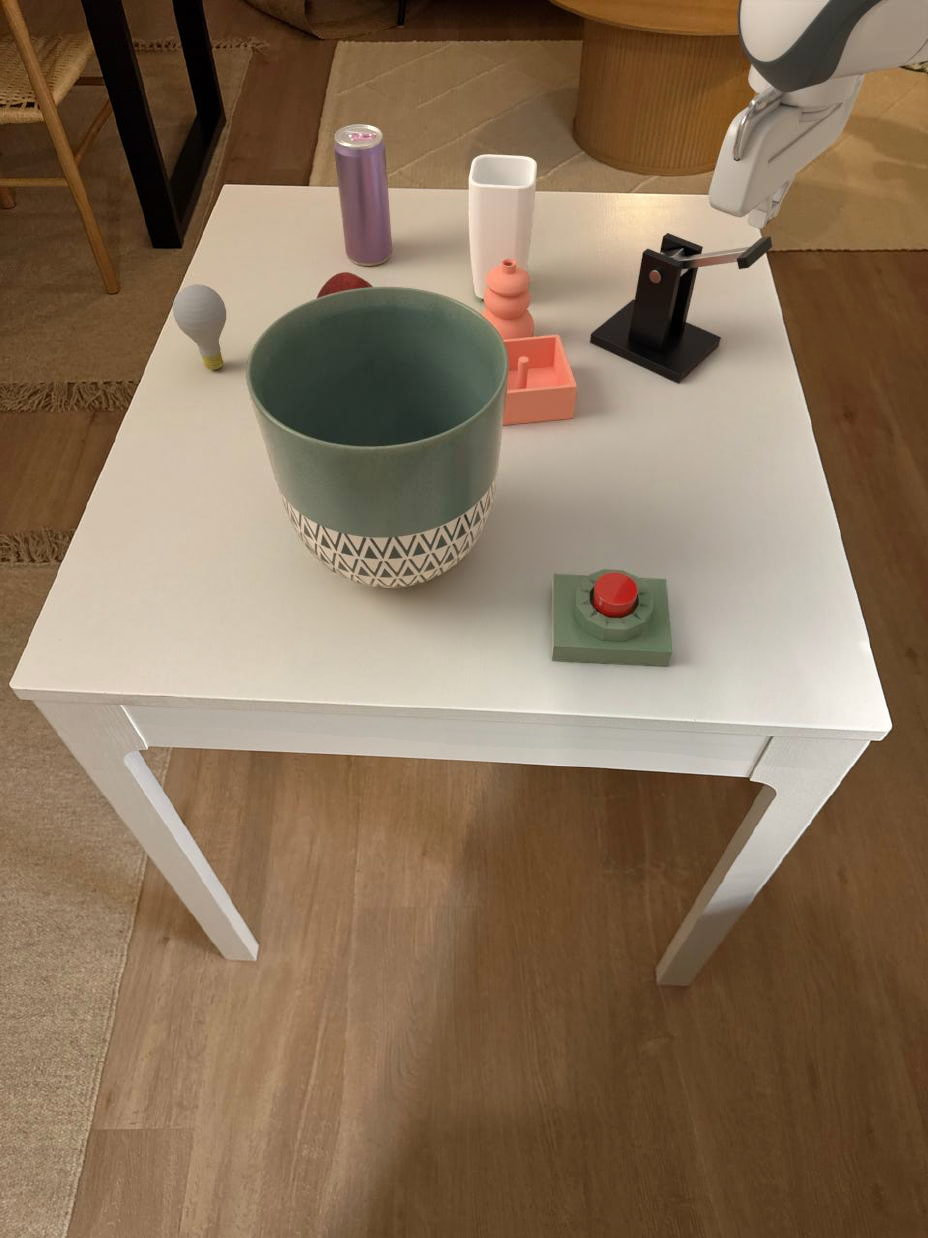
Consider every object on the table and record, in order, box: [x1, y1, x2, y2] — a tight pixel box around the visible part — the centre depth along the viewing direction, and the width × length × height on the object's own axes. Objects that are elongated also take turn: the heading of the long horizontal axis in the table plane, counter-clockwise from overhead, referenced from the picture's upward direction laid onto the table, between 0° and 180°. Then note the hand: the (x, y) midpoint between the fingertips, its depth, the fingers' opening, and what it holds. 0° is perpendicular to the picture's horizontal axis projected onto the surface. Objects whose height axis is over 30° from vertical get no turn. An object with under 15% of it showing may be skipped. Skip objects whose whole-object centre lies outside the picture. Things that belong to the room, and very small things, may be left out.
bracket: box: [589, 232, 722, 384], centre depth 100 cm, size 12×9×12 cm
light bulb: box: [172, 283, 227, 370], centre depth 98 cm, size 6×6×10 cm
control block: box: [551, 568, 674, 667], centre depth 78 cm, size 10×8×4 cm
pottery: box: [480, 259, 578, 426], centre depth 97 cm, size 18×10×10 cm, turn 8°
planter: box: [245, 286, 509, 589], centre depth 76 cm, size 20×20×21 cm
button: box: [593, 572, 638, 617], centre depth 76 cm, size 4×4×2 cm
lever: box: [659, 236, 773, 276], centre depth 93 cm, size 12×5×2 cm, turn 51°
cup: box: [468, 153, 538, 301], centre depth 105 cm, size 7×7×15 cm
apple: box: [315, 271, 374, 299], centre depth 102 cm, size 7×8×8 cm
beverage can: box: [333, 123, 393, 267], centre depth 110 cm, size 6×6×15 cm
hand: (761, 221), depth 86 cm, fingers closed
